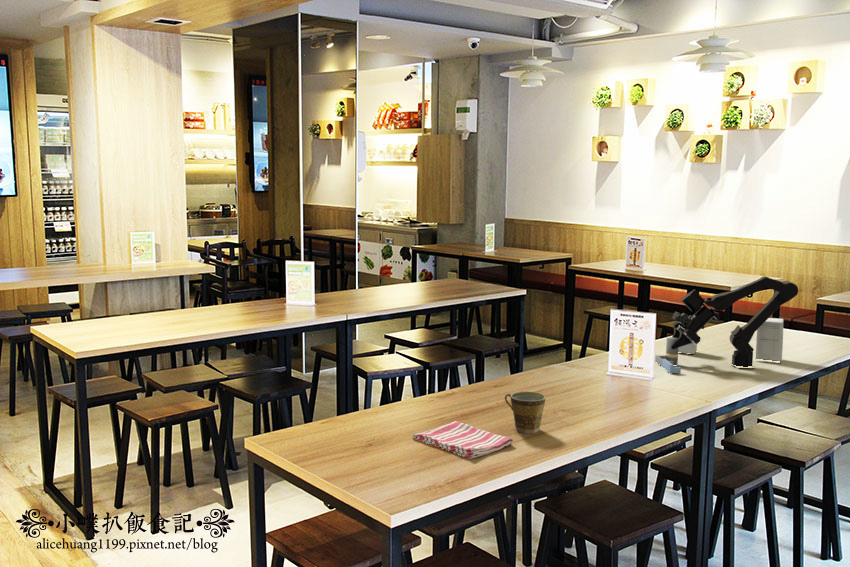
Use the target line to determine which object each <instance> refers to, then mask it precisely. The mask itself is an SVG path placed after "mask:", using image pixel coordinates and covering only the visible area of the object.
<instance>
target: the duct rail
mask: <svg viewBox="0 0 850 567" xmlns="http://www.w3.org/2000/svg"><path fill="white" fill-rule="evenodd" d="M654 358H655V359H654V362H655V363H656V362H657V363H658V364H657V363H656V364H657V365H659V364H660V365H661V366H662V367H663V368H665V369H666V370H667V371H668V372H669V373H681V374H682V372H681V371H682V369H681V368H682V367H681V366H673V361H667V360H666V355H659V354H657V355H655V356H654ZM660 365H659V366H660ZM661 366H660V367H661ZM662 367H661V368H662ZM663 368H662V369H663ZM665 369H664V370H665ZM666 370H665V371H666ZM667 371H666V372H667ZM668 372H667V373H668ZM669 373H668V374H669Z"/></svg>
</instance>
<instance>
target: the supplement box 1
mask: <svg viewBox="0 0 850 567" xmlns="http://www.w3.org/2000/svg"><path fill="white" fill-rule="evenodd" d="M680 323H681V322H680ZM696 334H697V335H698V332H697V333H696ZM696 351H697V352H698V344H695V343H694V341H692V344H688V345H684V346H681V347H678V352H681V353H690V354H693V353H695V352H696ZM697 352H696V353H697ZM696 353H695V354H696Z"/></svg>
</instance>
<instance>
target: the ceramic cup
mask: <svg viewBox="0 0 850 567" xmlns="http://www.w3.org/2000/svg"><path fill="white" fill-rule="evenodd" d="M507 397H510V402H509V401H508V399H507ZM504 401H505V403H506V404H507V405H508V406H509V407H510V409H511V410H512V412H513V419H514V426H515V429H517V430H516V431H517V432H518V431H519V432H520V433H522V434H535V432H536V433H538V432H540V427H541V422H542V418H543V412H544V409H545V404H546V396H545V395H544V394H543V393H541V392H535V391H518V392H513V393H507V394H505V397H504ZM510 403H511V404H510ZM537 431H538V432H537ZM519 432H518V433H519Z"/></svg>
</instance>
